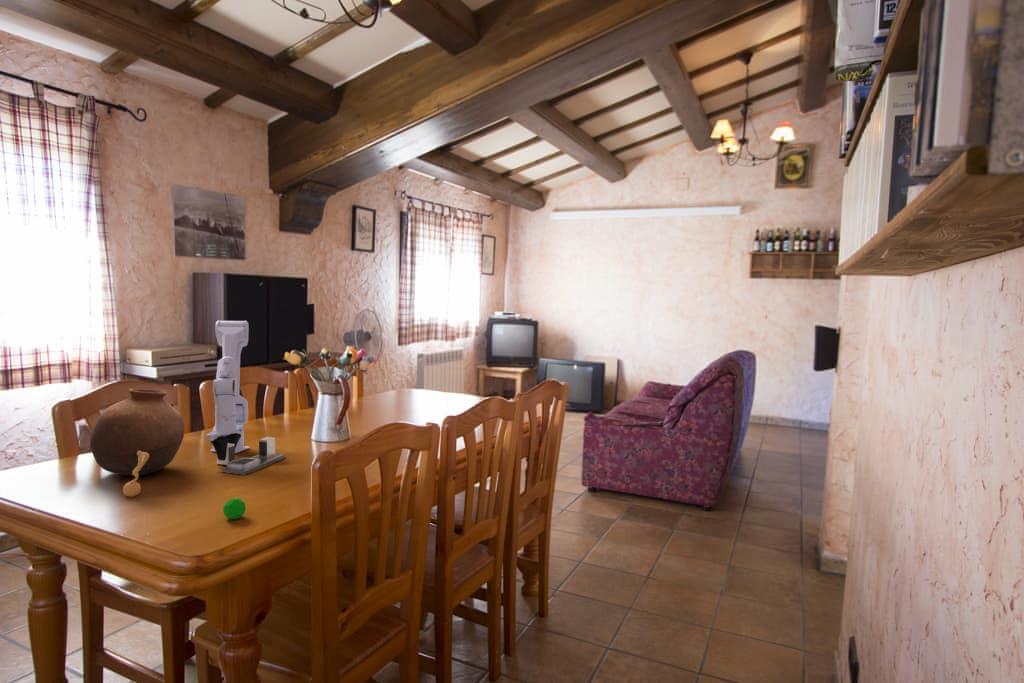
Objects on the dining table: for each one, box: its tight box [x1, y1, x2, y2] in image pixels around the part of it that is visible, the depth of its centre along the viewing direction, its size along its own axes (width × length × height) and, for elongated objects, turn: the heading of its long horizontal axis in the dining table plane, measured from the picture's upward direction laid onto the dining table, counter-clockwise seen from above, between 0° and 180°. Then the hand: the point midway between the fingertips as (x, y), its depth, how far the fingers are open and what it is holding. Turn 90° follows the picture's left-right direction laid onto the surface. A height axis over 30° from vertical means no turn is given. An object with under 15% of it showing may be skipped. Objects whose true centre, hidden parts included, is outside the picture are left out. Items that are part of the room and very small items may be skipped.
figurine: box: [122, 451, 149, 498], centre depth 157 cm, size 8×6×12 cm
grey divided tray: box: [220, 436, 286, 476], centre depth 188 cm, size 8×20×7 cm, turn 166°
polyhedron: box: [222, 497, 247, 520], centre depth 144 cm, size 5×5×5 cm
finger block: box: [216, 443, 236, 466], centre depth 188 cm, size 3×4×6 cm
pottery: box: [89, 388, 186, 477], centre depth 175 cm, size 23×23×25 cm
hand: (225, 458), depth 188 cm, fingers closed on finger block, 3 cm apart
